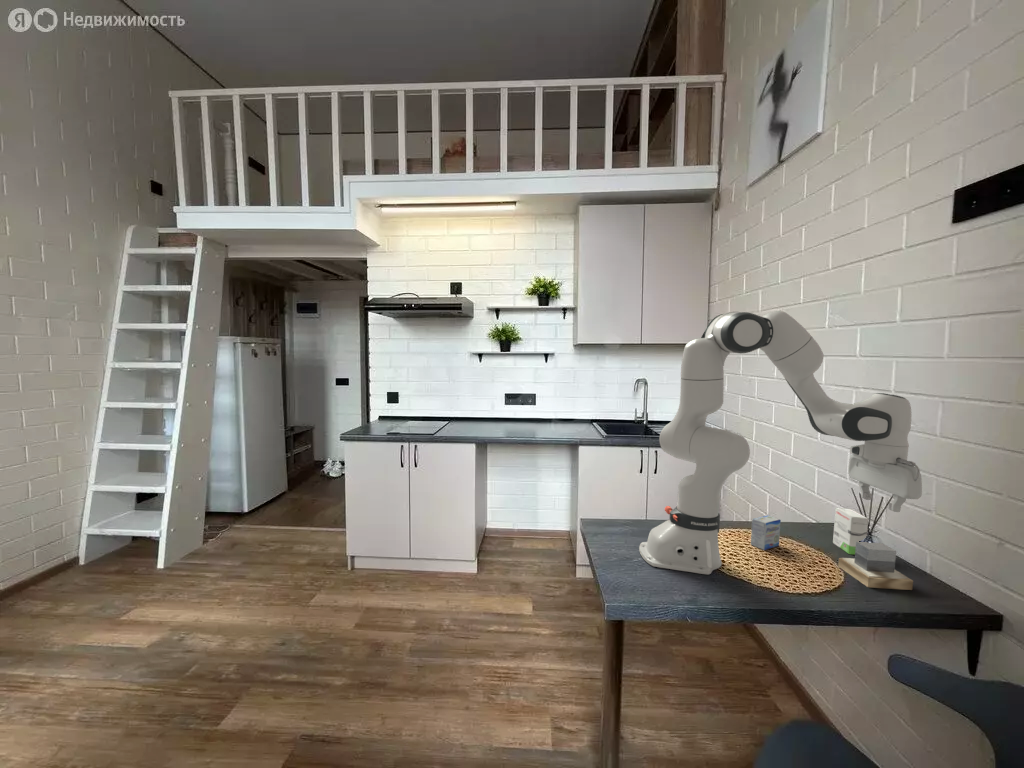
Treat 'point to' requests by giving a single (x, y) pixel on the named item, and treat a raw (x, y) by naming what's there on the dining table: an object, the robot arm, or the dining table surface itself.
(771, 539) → the medicine box
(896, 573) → the plinth
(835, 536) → the ink box
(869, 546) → the housing
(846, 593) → the dining table surface
